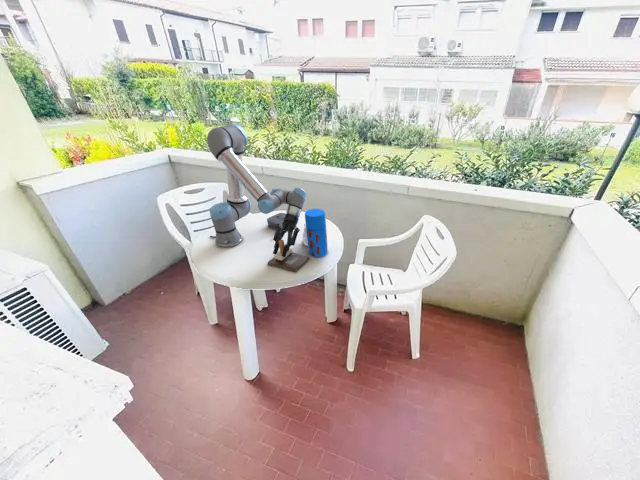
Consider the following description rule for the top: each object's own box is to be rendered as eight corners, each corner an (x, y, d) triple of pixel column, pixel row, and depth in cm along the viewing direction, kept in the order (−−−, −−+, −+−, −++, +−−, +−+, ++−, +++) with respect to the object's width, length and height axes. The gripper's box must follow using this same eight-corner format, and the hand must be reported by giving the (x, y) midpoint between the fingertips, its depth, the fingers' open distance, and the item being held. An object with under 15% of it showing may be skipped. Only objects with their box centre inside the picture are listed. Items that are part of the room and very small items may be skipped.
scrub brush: (282, 262, 152) (279, 246, 146) (274, 260, 154) (271, 244, 148) (292, 253, 160) (290, 237, 154) (285, 251, 161) (282, 236, 156)
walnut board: (268, 264, 153) (267, 262, 153) (283, 252, 164) (282, 249, 163) (295, 272, 147) (295, 269, 147) (309, 259, 158) (309, 256, 157)
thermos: (318, 245, 170) (315, 206, 156) (331, 251, 164) (329, 211, 150) (305, 253, 163) (300, 213, 149) (318, 259, 157) (314, 218, 143)
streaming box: (296, 224, 195) (295, 217, 192) (281, 232, 185) (279, 224, 182) (282, 218, 201) (281, 212, 198) (266, 226, 192) (265, 219, 189)
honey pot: (326, 245, 171) (324, 217, 161) (305, 248, 168) (301, 220, 157) (321, 235, 181) (319, 209, 171) (301, 238, 178) (298, 211, 167)
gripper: (309, 221, 156) (296, 260, 153) (282, 215, 162) (269, 253, 159) (303, 215, 149) (289, 257, 146) (275, 210, 155) (261, 250, 152)
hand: (279, 255), depth 152 cm, fingers closed on scrub brush, 5 cm apart
